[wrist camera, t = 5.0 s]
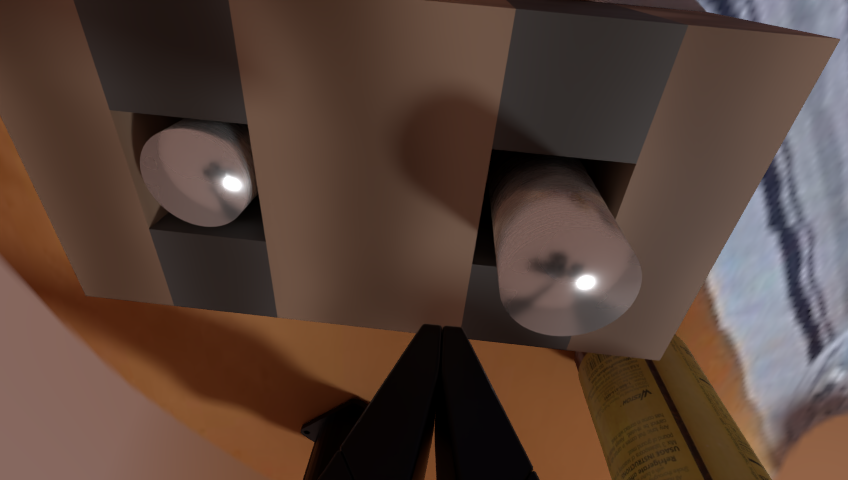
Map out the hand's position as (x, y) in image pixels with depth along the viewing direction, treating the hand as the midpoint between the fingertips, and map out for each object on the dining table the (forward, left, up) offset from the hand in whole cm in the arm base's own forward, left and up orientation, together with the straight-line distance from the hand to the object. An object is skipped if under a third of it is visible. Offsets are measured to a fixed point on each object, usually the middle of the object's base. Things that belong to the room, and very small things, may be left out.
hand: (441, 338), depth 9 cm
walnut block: (-2, +2, -13) cm, 13 cm away
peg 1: (-6, +6, -13) cm, 16 cm away
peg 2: (+2, -2, -10) cm, 10 cm away
